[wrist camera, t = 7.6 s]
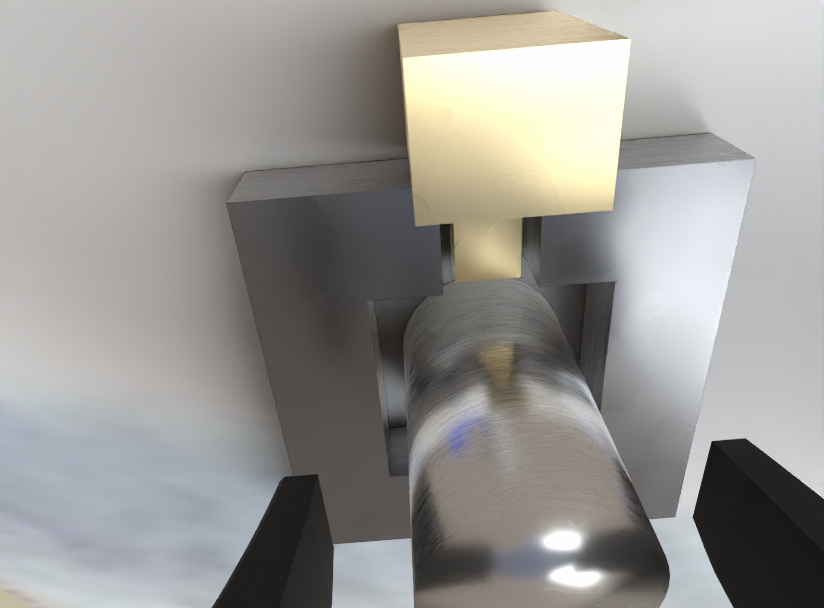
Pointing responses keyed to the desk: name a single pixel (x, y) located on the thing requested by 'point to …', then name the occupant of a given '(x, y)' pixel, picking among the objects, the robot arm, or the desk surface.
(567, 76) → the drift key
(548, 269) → the socket block
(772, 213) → the desk surface
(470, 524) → the metal cylinder
